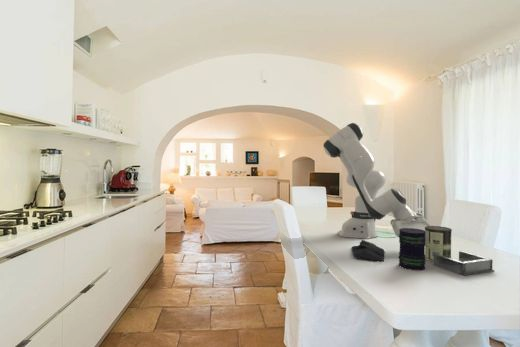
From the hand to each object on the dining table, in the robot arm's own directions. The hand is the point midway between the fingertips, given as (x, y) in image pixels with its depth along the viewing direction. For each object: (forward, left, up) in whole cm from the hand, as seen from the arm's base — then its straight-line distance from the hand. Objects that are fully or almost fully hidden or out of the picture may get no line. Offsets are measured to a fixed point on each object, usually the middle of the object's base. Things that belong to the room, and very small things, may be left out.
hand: (421, 242), depth 144 cm
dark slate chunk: (-25, -5, -6) cm, 26 cm away
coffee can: (+4, -7, -6) cm, 10 cm away
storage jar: (-10, -20, -6) cm, 23 cm away
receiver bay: (+10, -17, -5) cm, 20 cm away
